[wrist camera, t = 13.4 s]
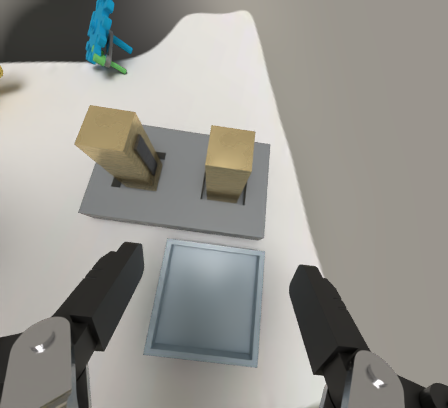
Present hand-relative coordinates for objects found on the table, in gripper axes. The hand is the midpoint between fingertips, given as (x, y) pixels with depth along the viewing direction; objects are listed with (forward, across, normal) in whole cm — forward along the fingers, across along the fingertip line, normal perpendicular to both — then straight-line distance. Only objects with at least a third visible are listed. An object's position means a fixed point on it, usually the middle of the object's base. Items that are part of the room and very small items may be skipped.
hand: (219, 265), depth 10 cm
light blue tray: (+8, 0, +14) cm, 16 cm away
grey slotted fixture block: (+18, +5, +4) cm, 19 cm away
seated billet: (+17, +11, +3) cm, 20 cm away
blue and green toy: (+33, +22, -11) cm, 41 cm away
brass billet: (+17, 0, +3) cm, 17 cm away
